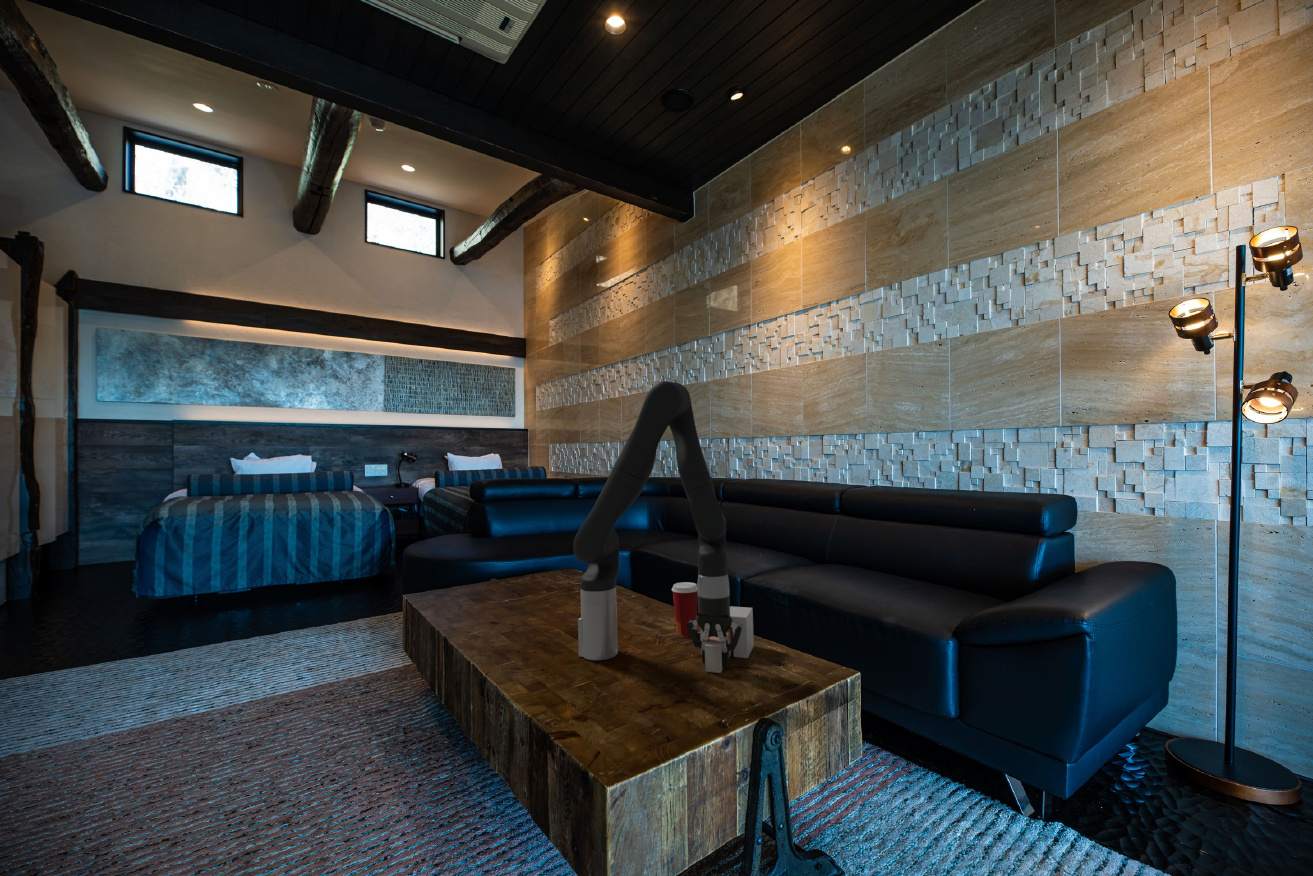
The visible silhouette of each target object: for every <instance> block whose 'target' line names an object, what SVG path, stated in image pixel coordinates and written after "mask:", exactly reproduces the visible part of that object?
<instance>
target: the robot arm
mask: <svg viewBox="0 0 1313 876" xmlns="http://www.w3.org/2000/svg"><path fill="white" fill-rule="evenodd" d="M668 427H669V429H670V431H671V434H672V437H673V441H674V444H675V445H674V447H675V454H676V456H675V457H676V464H677V470H678V474H679V477H680V480H681V485H682V487H683V489H684V493H685V495H686V497H687V500H688V503H689V505H690V510H691V514H692V520H693V523H694V525H695V528H696V531H697V534H698V535H697V536H698V537H697V538H698V554H697V555H698V556H697V573H698V574H697V575H698V577H697V588H698V591H697V619H696V620H690V621H689V622H688V623H687V628H688V631H689V633H690V636H691V637H690V638H691V641H692V644H693V646H694V648H698V649H700V651H701V650H702V654H701V662H702V664H704V665H705V644H706V643H708V640H710V637H713V636H715V637H718V638H719V642H720V643H721V647H722V668H723V669H726V668H727V667H728V666H729V664H730V657H729V651H731V650H732V651H733V650H734V649H735V647H736V646H737V643H738V640H739V637H740V635H741V632H742V629H743V625H742V624H737V623H735V622H733V621H732V619H731V616H730V605H731V604H730V603H731V602H730V592H731V589H730V581H729V575H728V574H729V572H728V557H727V550H726V547H727V541H726V540H727V538H726V537H727V520H726V517H725V515H724V514H723V512H722V509H721V507H720V503H719V501H718V498H717V496H716V490H715V487H714V482H713V480H712V477H711V474H710V471H709V468H708V466H707V462H706V459H705V456H704V454H703V453H704V452H703V451H702V450H703V449H702V446H701V443H700V439H699V435H698V431H697V427H696V423H695V416H694V411H693V404H692V400H691V395H690V392H689V390H688V388H686V387H685V385H683V384H681V383H679V382H677V381H676V382H675V381H668V380H663V381H659V382H657V383H655V384H654V385H652V386H651V388H650V389H649V390H648V392H647V393H646V396H645V399H644V401H643V404H642V406H641V409H640V412H639V415H638V417H637V420H636V421H635V425H634V426H633V429H632V431H631V433H630V434H629V436H628V438H627V440H626V441H625V443H624V446H623V448H622V450H621V452H620V454H619V456H618V457H617V458H616V461H615V463H614V465H613V466H612V469H611V470H610V473H609V475H608V478H607V480H606V482H605V484H604V485H603V487H602V490H600V491H601V492H600V494H599V495H598V497H597V499H596V501H595V504H594V505H593V507H592V509H591V511H590V512H589V514H588V516H587V517H586V518H585V520H584V521H583V522H582V524H581V526H580V528H579V529H578V531H577V533H576V534H575V536H574V539H573V545H572V546H573V547H572V548H573V553H574V556H575V558H576V559H577V560H578V561H579V562H581V563H584V564H588V566H587V569H586V571H585V572H584V574H582V576H581V577H580V583H579V584H580V617H579V618H578V619H577V630H578V631H577V632H578V635H577V636H578V657H582V658H584V659H586V660H589V661H606V660H609V659H612V658H615V657H616V656H617V655H618V653H619V651H618V649H619V647H618V646H619V644H618V609H617V608H618V606H617V579H618V576H619V571H620V542H619V536H618V533H617V532H616V530H615V528H614V526H615V525H616V523H617V522H618V520H619V518H620V517H621V516H622V515H623V514H624V513H625V512H626V511H627V510H628V509H629V508H630V507H631V506H632V505H633V504H634V502H636V500H637V499H638V498H639V496H640V495H641V494H642V492H643V491H644V488H645V486H646V484H647V482H648V481H649V478H650V477H651V475H652V472H653V470H654V466H655V462H656V457H657V452H658V451H657V450H658V448H659V445H660V441H661V440H662V437H663V435H664V434H665V432H666V431H667V429H668ZM698 626H699V629H700V628H701V629H702V631H703V632H704V634H703V639H702V641H701V638H700V633H699V631H698ZM730 626H731V627H732V631H733V633H734V636H733V639H732V642H731V643H730V644H729V643H728V637H727V633H726V632H727V631H728V629H729V628H730ZM733 652H734V651H733Z"/></svg>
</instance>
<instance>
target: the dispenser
mask: <svg viewBox="0 0 1313 876" xmlns="http://www.w3.org/2000/svg"><path fill="white" fill-rule="evenodd" d="M753 612H754V611H753V607H746V606H745V607H742V606H732V605H731V606H730V616H731V619H732V621H733V622H735V623H737V624H742V625H743V629H742V632H741V635H740V637H739V640H738V643H737V646H736V647H735V649H734V651H733V657H734V658H743V659H749V656H750V654H751V652H752V650H753V649H754V647H755V643H754V641H755V639H754V616H753V615H754V614H753ZM730 627H731V626H730ZM699 630H700V631H699V637H700V639H701V641H702V639H703V634H704V632H703V631H702V629H701V628H700V627H699ZM733 636H734V633H733ZM710 638H711V637H710ZM700 654H701V655H702V650H701V649H700Z"/></svg>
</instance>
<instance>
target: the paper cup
mask: <svg viewBox="0 0 1313 876" xmlns="http://www.w3.org/2000/svg"><path fill="white" fill-rule="evenodd" d="M671 591H672V596H673V598H672V599H673V609H674V621H675V631H676V632H675V633H676V636H677V637H679V638H686V639H687V638H689V639H690V638H691V636H690V633H689V631H688V628H687V623H688V622H689V621H690V620H696V619H697V617H698V583H695V582H688V581H687V582H686V581H685V582H684V581H683V582H676V583H674V584H673V586H672V588H671Z"/></svg>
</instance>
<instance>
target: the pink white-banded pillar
mask: <svg viewBox="0 0 1313 876" xmlns="http://www.w3.org/2000/svg"><path fill="white" fill-rule="evenodd" d="M726 633H727V637H728V643H729V644H730V643H731V642H732V639H733V631H732V627H730V628H729V629H728V631H727V632H726ZM733 653H734V650H733V651H732V650H731V651H729V658H730V657H731V656H732V654H733ZM704 667H705V668H704V670H705V672H707V673H715V674H716V673H717V674H721V673H722V671H723V669H724V668H722V647H721V643H720V642H719V638H718V637H715V636H713V637H711V638H710V640H708V643H706V644H705V664H704Z"/></svg>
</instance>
